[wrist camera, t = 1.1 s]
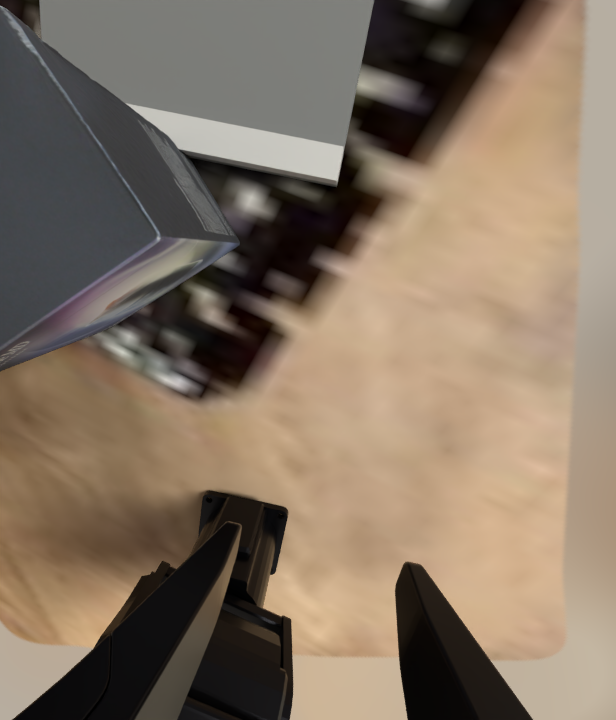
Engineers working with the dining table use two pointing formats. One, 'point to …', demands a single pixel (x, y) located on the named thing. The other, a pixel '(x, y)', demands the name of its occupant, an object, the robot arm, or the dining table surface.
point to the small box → (87, 204)
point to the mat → (227, 73)
